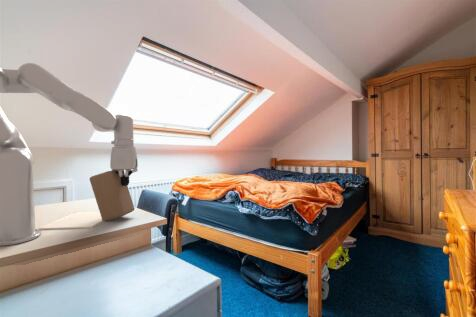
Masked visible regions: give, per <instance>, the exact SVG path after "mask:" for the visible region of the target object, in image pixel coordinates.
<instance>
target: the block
mask: <svg viewBox="0 0 476 317" xmlns="http://www.w3.org/2000/svg"><path fill="white" fill-rule="evenodd" d="M89 182H90V185H91V188H92V192H93V194H94V198H95V201H96V205H97V208H98V210H99V211H98V212H100V214H101V217H102V220H103V222H108V221H112V220H115V219H118V218H122V217H124V216H126V215H129V214H130V213H132V212H134V211H135V204H134V203H133V200H132V199H133V198H132V196H131V193H130V188H129V185H127V186H122V184H121V177H120V176H119V175H118V174H117V173H116V171H112V170H108V171H105V172H102V173H101V172H100V173H98V174H94V175H92V176H90V177H89Z"/></svg>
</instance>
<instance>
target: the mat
mask: <svg viewBox="0 0 476 317" xmlns="http://www.w3.org/2000/svg"><path fill="white" fill-rule="evenodd" d="M103 222H104V221H103V220H102V217H101V214H100V211H85V212H83V211H82V212H78V211H77V212H72V213H69V215H66V216H63V217H60V218H59V219H56V220H54V221H52V222H49V223H47V224H45V225H42V226H39V227H38V228H37V229H38V230H41V231H43V230H73V229H79V230H80V229H93V228H95V227H97V226H98V225H100V224H102V223H103Z"/></svg>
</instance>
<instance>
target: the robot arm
mask: <svg viewBox="0 0 476 317" xmlns="http://www.w3.org/2000/svg"><path fill="white" fill-rule="evenodd" d="M0 94H38V95H40V96H41V97H43V98H45V99H47V100H48V101H49V102H51V103H52V104H54V105H56V106H57V107H59V108H61V109H64V110H65V111H70V112H73V113H74V114H77V115H79V116H81V117H82V118H84V119H86V120H87V121H89V122H90V123H91V125H92V127H93V128H94V129H95V130H96V131H98V132H102V133H103V132H104V133H105V132H106V133H107V132H113V140H111V142H110V143H111V145H113V146H112V147H111V153H110V159H109V160H110V161H109V162H110V163H109V167H110V170H111V171H116V173H117V174H118V175H119V176H120V177H121V184H122V186H129V184H130V176H131V175H132V174H133V173H137V172H138V165H139V163H138V156H137V155H138V154H137V153H138V152H137V149H136V147H135V145H134V142H135V141H134V118H133V116H131V115H128V114H116V115H114V114H113V112H112V111H110V110H109V109H108V108H106V107H104V106H103V105H101V104H100V103H99V102H97V101H96V100H94V99H92V98H90V97H89V96H87V95H85V94H84V93H81V92H80V91H78V90H76V89H74V87H71V86H70V85H68V84H67V83H65V81H63V80H61V79H60V78H59V77H57V76H56V75H54V74H53V73H51V72H50V71H49V70H47V69H45V68H44V67H42V66H41V65H39V64H36V63H33V62H27V63H24V64H22V65H20V66H19V67H18V68H17V69H7V68H5V69H4V68H2V67H1V66H0ZM3 110H4V109H3V108H2V107H1V105H0V247H1V246H2V247H3V246H12V245H17V244H18V245H19V244H22V243H26V242H29V241H31V240H34V239H36V238H38V237H40V236H41V235H42V230H38V228H37V229H36V214H35V212H36V211H35V194H34V193H35V192H34V176H33V175H34V173H33V165H34V162H35V160H34V156H33V154H32V152H31V151H30V148H29V147H28V145H27V143H26V141H25V139H24V138H23V136H22V134H21V133H20V130H19V129H18V128H17V126H16V125H15V124H14V123H12V122H11V121H10V120H9V118H8V117H7V115H6V113H5V112H4V111H3Z"/></svg>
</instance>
